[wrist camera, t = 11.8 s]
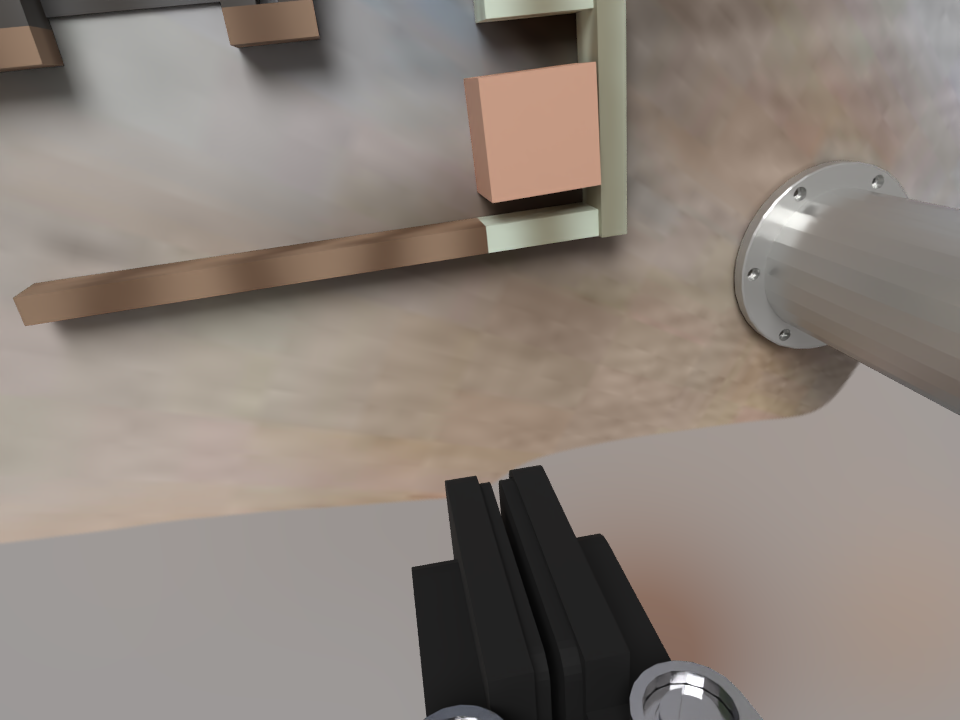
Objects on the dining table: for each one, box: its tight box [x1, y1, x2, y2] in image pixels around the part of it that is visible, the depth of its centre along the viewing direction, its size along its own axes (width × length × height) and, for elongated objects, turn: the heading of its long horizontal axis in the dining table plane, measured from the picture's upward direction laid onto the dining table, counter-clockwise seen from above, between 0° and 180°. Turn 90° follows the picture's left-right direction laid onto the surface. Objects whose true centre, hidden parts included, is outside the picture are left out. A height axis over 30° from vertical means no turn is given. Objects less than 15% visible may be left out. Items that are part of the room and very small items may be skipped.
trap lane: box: [0, 0, 627, 326], centre depth 31 cm, size 32×22×3 cm
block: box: [464, 62, 601, 203], centre depth 34 cm, size 6×6×4 cm
